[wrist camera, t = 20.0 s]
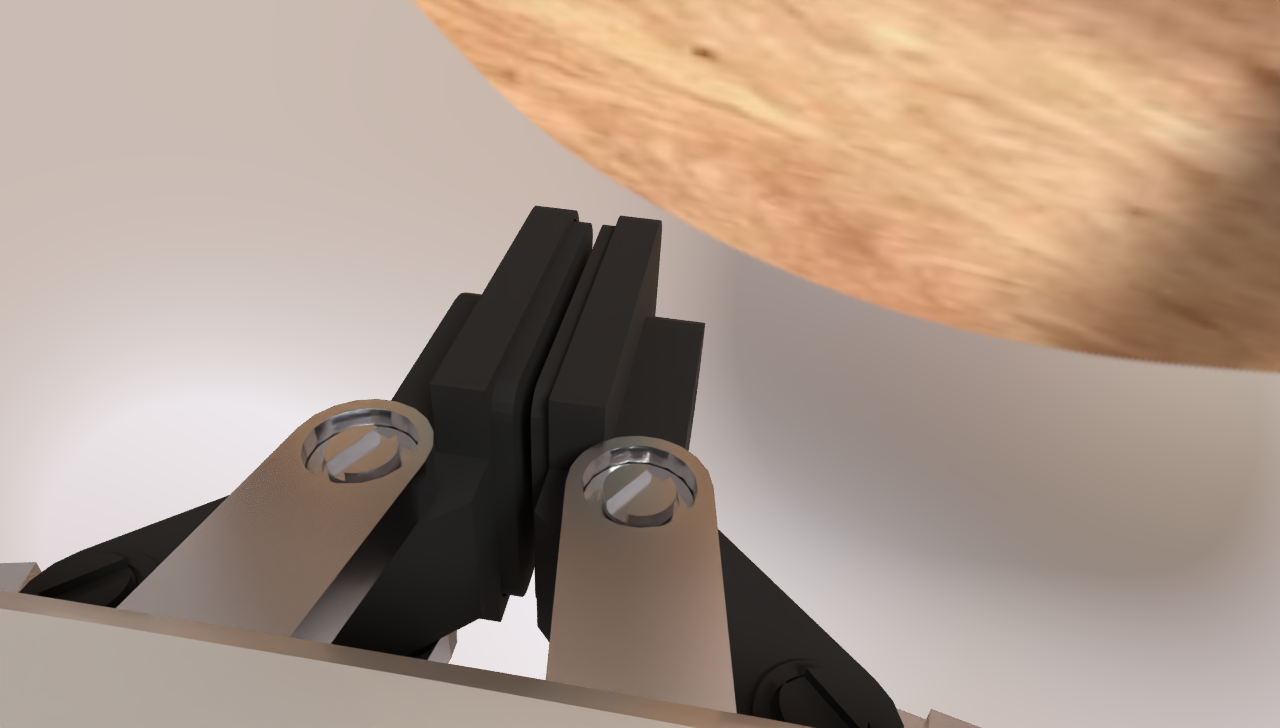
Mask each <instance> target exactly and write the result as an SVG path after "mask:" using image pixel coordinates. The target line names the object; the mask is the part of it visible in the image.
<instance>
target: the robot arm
mask: <svg viewBox="0 0 1280 728" xmlns="http://www.w3.org/2000/svg"><path fill="white" fill-rule="evenodd" d="M592 231H593V230H592V225H591V223H584V222H579V217H578V212H577V211H575V210H567V209H558V208H550V207H541V206H535V207H534V208H533V209H532V211H531V212H530V214H529V216H528V217H527V219H526V221H525V223H524V224H523V226H522V228H521V230H520V231H519V233H518V234H517V236H516V238H515V239H514V241H513V243H512V245H511V246H510V248H509V250H508V251H507V253H506V255H505V256H504V258H503V260H502V262H501V263H500V265H499V267H498V268H497V270H496V272H495V273H494V275H493V277H492V279H491V280H490V282H489V283H488V285H487V287H486V289H485V290H484V292H483V294H482V295H481V294H473V293H461V294H460V295H459V296H458V297H457V298H456V299H455V301H454V302H453V304H452V306H451V307H450V309H449V310H448V312H447V313H446V315H445V317H444V318H443V320H442V321H441V323H440V324H439V326H438V328H437V329H436V331H435V332H434V334H433V336H432V337H431V339H430V340H429V342H428V344H427V345H426V347H425V348H424V350H423V351H422V353H421V354H420V356H419V358H418V359H417V361H416V362H415V364H414V365H413V367H412V369H411V370H410V372H409V373H408V375H407V377H406V378H405V380H404V381H403V383H402V384H401V386H400V388H399V389H398V391H397V392H396V394H395V396H394V397H393V398H392V400H391V401H388V400H380V399H372V400H356V401H352V402H348V403H344V404H340V405H336V406H333V407H331V408H329V409H326V410H325V411H322V412H320V413H318V414H316V415H314V416H312V417H311V418H310V419H309V420H307V421H306V422H305V423H303V424H302V425H301V426H300V427H298V428H297V429H296V430H295V431H294V432H293V433H292V434H291V435H290V436H289V437H288V438H287V439H286V440H285V441H284V442H283V443H282V444H281V445H280V446H279V447H278V448H277V449H276V450H275V451H274V452H273V453H272V454H271V455H270V456H269V457H268V458H267V459H266V460H265V461H264V462H263V463H262V464H261V465H260V466H259V467H258V468H257V469H256V470H255V471H254V472H253V473H252V474H251V475H250V476H249V477H248V478H247V479H246V480H245V481H244V482H243V483H242V484H241V485H240V486H239V487H238V488H237V489H236V490H235V491H234V492H232V494H231V495H229V496H226V497H223V498H221V499H218V500H216V501H213V502H210V503H207V504H205V505H202V506H199V507H197V508H194V509H192V510H189V511H186V512H184V513H181V514H178V515H175V516H173V517H170V518H167V519H165V520H162V521H159V522H157V523H154V524H151V525H149V526H146V527H143V528H141V529H138V530H135V531H133V532H130V533H127V534H125V535H122V536H119V537H117V538H114V539H111V540H109V541H106V542H103V543H101V544H98V545H95V546H93V547H90V548H87V549H84V550H82V551H80V552H78V553H76V554H73V555H71V556H69V557H67V558H65V559H63V560H61V561H58V562H56V563H54V564H53V565H51V566H50V567H48V568H47V569H46V570H44V571H43V572H41V570H40V568H39V567H38V565H37V563H36V562H32V563H31V562H29V563H1V564H0V728H980V727H978V726H975V725H972V724H970V723H967V722H964V721H962V720H959V719H956V718H954V717H951V716H948V715H946V714H943V713H940V712H938V711H935V710H932V709H931V711H930V713H929V715H928V717H927V719H923V718H920V717H918V716H915V715H912V714H910V713H907V712H905V711H902V710H899V709H896V707H895V705H894V702H893V701H892V699H891V698H890V697H889V696H888V694H887V693H886V692H885V691H884V689H883V688H882V687H881V686H880V685H879V683H878V682H877V681H876V680H875V679H874V678H873V677H872V676H871V675H870V674H869V673H868V672H867V671H866V670H865V669H864V668H863V667H862V666H861V665H860V664H859V663H857V662H856V661H855V660H854V659H853V658H852V657H851V656H850V655H849V654H848V653H847V652H846V651H845V650H844V649H843V648H842V647H841V646H840V645H839V644H838V643H837V642H835V640H833V639H832V638H831V637H830V636H829V635H828V634H827V633H826V632H825V631H824V630H823V629H822V628H821V627H820V626H819V625H818V624H816V622H815V621H814V620H813V619H811V618H810V617H809V616H808V615H807V614H806V613H805V612H804V611H803V610H802V609H801V608H800V607H799V606H798V605H797V604H796V603H794V601H793V600H792V599H791V598H790V597H788V596H787V595H786V594H785V593H784V592H783V591H782V590H781V589H780V588H779V587H778V586H777V585H776V584H775V583H774V582H773V581H772V580H771V579H770V578H769V577H768V576H767V575H765V574H764V573H763V572H762V571H761V570H760V569H759V568H758V567H757V566H756V565H755V564H754V563H753V562H752V561H751V560H750V559H749V558H748V557H747V556H746V555H744V553H742V552H741V551H740V550H739V549H738V548H737V547H736V546H735V545H734V544H733V543H732V542H731V541H730V540H729V539H728V538H727V537H726V536H725V535H724V534H723V533H722V532H721V531H719V530H718V527H717V517H716V509H715V498H714V489H713V484H712V481H711V478H710V475H709V472H708V470H707V469H706V468H705V467H704V465H703V464H702V463H701V462H700V461H699V459H698V458H697V457H696V456H694V455H693V454H691V453H690V452H688V451H689V444H690V438H691V430H692V424H693V417H694V410H695V402H696V394H697V387H698V378H699V371H700V363H701V355H702V347H703V338H704V328H705V323H701V322H693V321H684V320H677V319H669V318H661V317H655V311H656V299H657V286H658V273H659V261H660V248H661V235H662V221H661V220H653V219H644V218H636V217H626V216H620V217H619V219H618V221H617V224H616V226H609V225H603V226H602V227H601V230H600V232H599V235H598V237H597V239H596V242H595V244H594V247H593V249H592V240H593V232H592ZM534 567H535V594H536V598H537V623H538V628H539V629H540V630H541V632H542V633H543V634H544V635H545V637H546V638H547V639H548V641H549V642H550V644H549V654H548V664H547V674H546V680H540V679H535V678H529V677H523V676H517V675H511V674H505V673H500V672H494V671H488V670H482V669H476V668H470V667H464V666H459V665H452V664H448V662H449V661H450V659H451V657H452V654H453V651H454V649H455V646H456V643H457V630H458V629H460V628H462V627H464V626H466V625H467V624H469V623H471V622H473V621H475V620H477V619H479V618H480V619H486V620H493V621H498V622H501V620H502V617H503V614H504V611H505V608H506V605H507V602H508V599H509V596H510V595H514V596H521V597H523V596H524V595H525V593H526V591H527V589H528V586H529V583H530V580H531V577H532V573H533V570H534Z"/></svg>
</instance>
